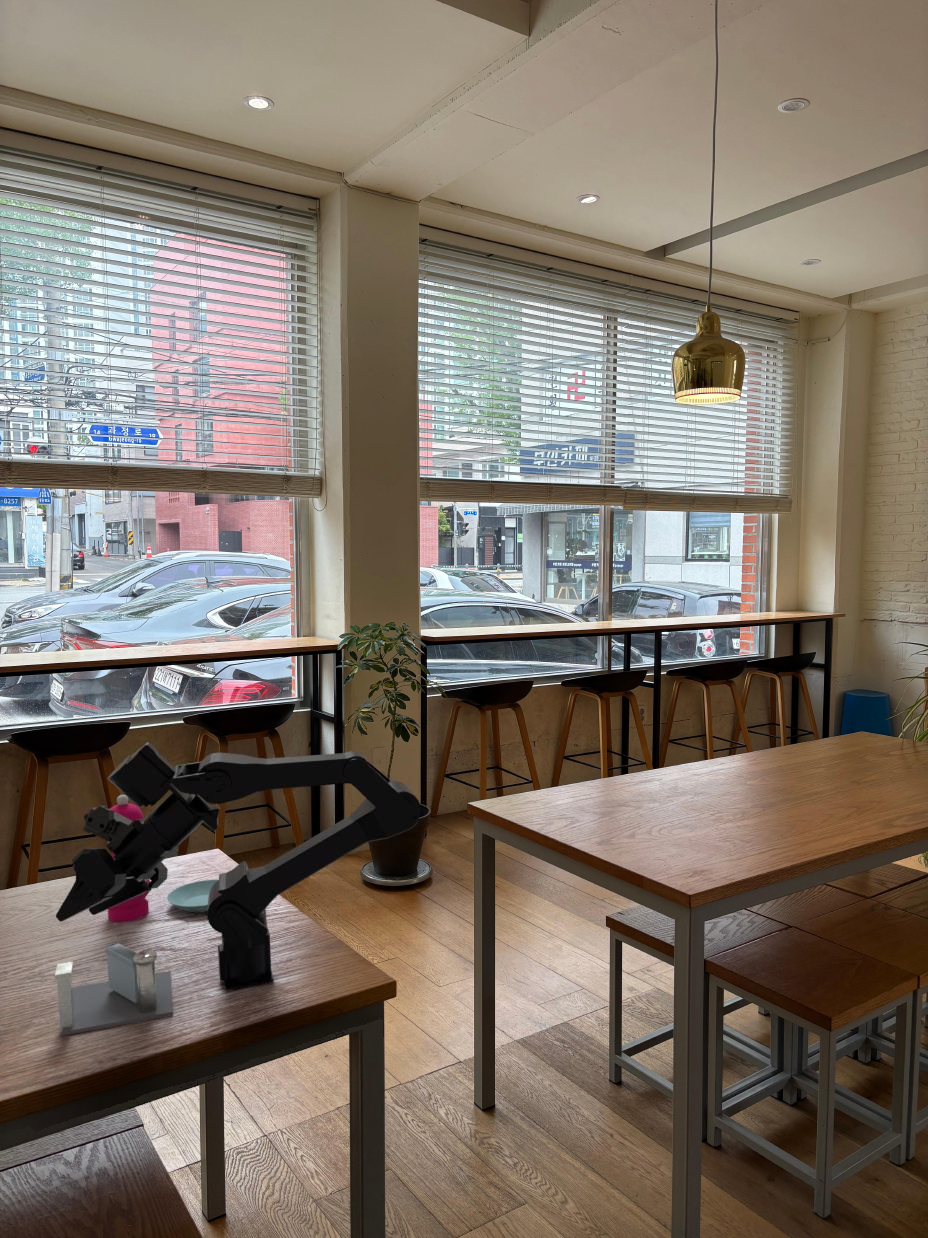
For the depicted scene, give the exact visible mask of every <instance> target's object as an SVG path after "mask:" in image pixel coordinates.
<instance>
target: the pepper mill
mask: <svg viewBox="0 0 928 1238" xmlns="http://www.w3.org/2000/svg"><path fill="white" fill-rule="evenodd" d="M140 808H141V807H138V806H137V805H136V804H135V803H134V804H132V803H130V802H129V798H128V797H127V796H126V795H125V794H120V795H119V796H117V798H116V804H115V805H114V806H111V807H110V808H108V809H109V810H114V812H116V813H118V814H120V815H122V816H124V817H126V818H128V819H130V820H131V821H134V820H138V819H142V820H144V815H143V812H142V810H141V809H140ZM108 843H109V842H108V841H107V844H108ZM114 855H115V854H114V853H113V852H111V856H112V857H113V856H114ZM113 858H114V857H113ZM150 881H151V880H150V879H148V880H147V881H146V882H147V884H148V885H149V883H150ZM150 892H151V891H149V892H146V893H144V894H142V895H139V896H137V897H135V898H132V899H130V900H128V901H125V902H123V903H121V904H118V905H116V906H114V907H112V908H109V909H107V918H108V919H109V920H110V921H112V922H117V923H125V922H132V921H135V920H139V919H141V918H144V917H146V916H147V915H148V913H149V911H150V908H149V907H150V906H149V900H148V899H147V896H148V895H149V893H150Z"/></svg>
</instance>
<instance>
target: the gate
mask: <svg viewBox="0 0 928 1238" xmlns="http://www.w3.org/2000/svg"><path fill="white" fill-rule="evenodd" d="M137 953H138V952H136V951H134V950H132V949H130V948H128V947H126V946H124V945H122V944H120V943H116V944H112V945H110V946H107V947H105V954H107V955H106V959H107V977H108V981H109V988H111V989H112V990H114V991H116V992H117V993H119V994H121V995H122V996H124V997H126V998H127V999H129V1000H131V1001H133V1002H134V1003H138V985H137V966H136V964H135V963H134V955H135V954H137Z"/></svg>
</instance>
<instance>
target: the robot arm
mask: <svg viewBox="0 0 928 1238" xmlns="http://www.w3.org/2000/svg"><path fill="white" fill-rule="evenodd" d="M107 780H108V781H109V782H110V783H111V784H113V785H114V787H116V788H117V789H118V790H119V791H120V792H121V793H123V795H126V796H127V797H128V800H130V801H131V802H133V803H134V805H136V806H137V807H139V808H141V807H142V806H143V807H145V808H147V807H148V806H149V808H151V807H153V806H155V805H156V804H157V803H158V802H159V801H160V800H161V799H162V798H163V797H164V796H165V795H166V794H167V793H168V792H169V791H170V792H171V793H170V794H169V795H168V796H166V798H165V799H163V801H161V803H159V805H157V807H155V808H154V809H153V810H152V811H151V812H150V813H149V814H148V815H147V816H146V817H144V818H143V820H142V819H138V820H134V821H131V820H130V819H128V818H126V817H124V816H122V815H120V814H118V813H116V812H114V810H109V809H110V808H107V806H106V805H99V806H96V807H93V808H92V807H91V809H90V810H89V811H88V812H87V813H85V814H84V815H83V820H84V825H83V827H82V830H83V831H84V832H85V833H87V834H92V835H95V836H96V837H98V838H100V839H102V840H104V841H106V842H107V844H106V845H105V847H106V848H107V849H106V848H83V849H81V850H80V852H79V853H78V854H76V855H75V856H74V857H73V858H72V860H71V862H72V864H73V866H72V869H73V871H74V872H75V880H74V883H73V885H72V887H71V888H70V890H69V892H68V894H67V896H66V897H65V899H64V900H63V902H62V904H61V905H60V907H59V909H58V910H57V912H56V914H55V918H56V920H58V921H59V922H60V923H61V922H64V921H66V920H68V919H70V918H73V917H75V916H77V915H78V914H80V913H83V912H84V911H87V910H88V911H89V913H90V914H91V915H93V916H95V915H98V914H101V913H102V912H105V911H108V909H109V908H112V907H114V906H116V905H118V904H121V903H123V902H125V901H128V900H130V899H132V898H135V897H137V896H139V895H142V894H144V893H146V892H149V891H150V892H151V891H152V889H153V890H154V889H159V887H160V886H161V885H162V884H163V883H164V882H165V881H166V880H167V879H168V870H169V869H168V867H167V866H166V865H165V864H164V863H163V861H164V860H166V858H167V857H173V856H175V854H176V853H178V851H179V849H178V846H179V845H181V844H182V843H183V842H184V841H185V840H186V839H187V838H188V837H189V836H190V835H191V834H192V833H193V832H194V831H195V830H196V829H197V828H198V827H199V826H200V825H202V824H203V822H204V823H205V825H207V826H208V827H209V828H211V829H212V830H213V831H216V830H218V828H219V827H218V826H219V814H220V810H221V806H220V805H221V804H226V803H229V802H233V801H237V800H241V799H244V798H247V797H250V796H252V795H255V794H257V793H260V792H264V791H270V790H283V789H295V788H305V787H318V786H319V787H320V786H331V785H334V786H335V785H342V784H343V785H344V784H348V785H349V784H350V785H352V787H354V788H355V789H356V790H357V791H358V792H359V793H360V794H361V795H362V796H363V797H365V799H363V801H362V802H361V803H360V804H359V806H358V807H357V808H356V809H355V810H354V811H353V812H352V813H351V814H350V815H349V816H347V817H345V818H343V819H341V820H340V821H339V822H336V823H334V824H333V825H331V826H330V827H328V828H326V829H325V830H322V831H321V832H319V833H318V834H316V835H315V836H312V837H311V838H309V839H308V840H306V841H304V842H302V843H301V844H298V845H297V846H296V847H294V848H292V849H290V850H289V851H286V852H285V853H283V854H282V855H280V856H279V857H277V858H275V859H273V860H272V861H269V862H268V863H265V864H264V865H262V866H260V867H253V868H249V866H248V864H247V861H244V860H243V861H242V862H240V863H239V864H238V865H236V866H235V867H234V868H232V869H231V870H229V871H227V872H221V873H219V874H218V879H217V880H218V881H217V882H216V883H215V884H214V885H213V886H212V887H211V890H210V893H209V896H208V909H207V913H206V914H207V917H206V918H207V921H208V924H209V925H210V927H212V929H213V930H214V931H216V932H218V933H219V934H221V943H219V944H218V945H217V961H218V962H217V963H218V975H219V981H221V982H223V986H224V987H223V988H224V990H225V991H233V990H238V989H243V988H249V987H254V986H260V985H265V984H266V985H267V984H271V983H273V982H275V980H274V979H275V978H274V975H273V971H272V959H271V958H272V953H271V934H270V931H269V928H268V919H267V908H268V906H269V905H270V904H272V903H271V902H273V901H274V900H275V899H276V898H277V896H279V895H280V894H282V893H284V892H286V891H287V890H289V889H291V888H292V887H294V886H295V885H299V883H301V882H303V881H304V880H306V879H308V878H309V877H311V876H313V875H314V874H316V873H318V872H319V871H321V870H323V869H325V868H326V867H328V866H329V865H331V864H333V863H335V862H336V861H338V860H339V859H341V858H342V857H345V856H346V855H348V854H349V853H351V852H353V851H355V850H356V849H358V848H360V847H361V846H363V845H365V844H367V843H369V842H375V841H380V840H387V839H390V838H392V837H393V838H394V837H395V836H397V835H400V834H403V833H405V832H408V831H410V830H412V829H413V828H414V827H416V826H417V824H418V822H420V821H419V820H420V817H421V813H422V809H421V807H422V806H421V804H420V800H419V799H418V797H417V796H416V795H415V794H414V793H413V791H412V790H411V789H410V787H409V786H408V785H407V784H406V783H404V782H401V781H398V780H391V779H390V778H389V777H388V776H387V775H386V774H384V773H383V772H382V771H381V770H380V769H378V768H377V767H376V766H374V765H373V764H372V763H371V762H369V761H368V759H366V757H365V756H364V755H363V753H362V752H359V751H357V750H350V751H346V752H341V753H340V752H339V753H329V754H328V753H327V754H326V753H325V754H314V755H302V756H301V755H300V756H287V757H286V756H285V757H273V758H272V757H271V758H262V757H254V756H250V755H245V754H239V753H238V754H237V753H228V752H213V753H210V754H208V755H206V756H205V757H204V758H203V759H202V760H201V761H196V762H192V763H191V762H190V763H185V764H178V765H175V766H173V765H172V764H171V763H170V762H169V761H168V760H167V759H166V758H164V757H163V755H161V754H160V752H159V751H158V750H157V749H156V747H155V746H154V745H153V744H152V743H151V742H149V741H148V742H145V744H143V745H142V747H140V748H138V749H137V750H136V751H135V752H133V753H132V754H129V755H128V756H127V757H125V759H124V760H123V761H121V762H120V764H118V766H117V767H116V768H115V769H114V770H113V771H112V772H111V773H109V776H108V777H107ZM208 803H209V804H208ZM211 804H213V805H211ZM108 842H109V843H108ZM108 850H109V851H108ZM110 852H111V853H112V852H113V853H114V854H115V855H114V856H113V857H114V858H113V857H112V854H111V853H110ZM148 879H150V883H149V885H148V884H147V882H146V881H147V880H148ZM150 892H149V893H150Z"/></svg>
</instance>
